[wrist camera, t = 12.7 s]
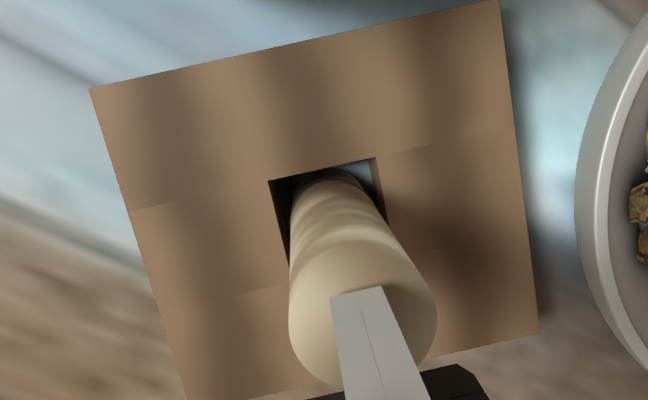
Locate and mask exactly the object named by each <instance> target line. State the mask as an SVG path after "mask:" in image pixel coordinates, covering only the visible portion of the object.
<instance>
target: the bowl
mask: <svg viewBox="0 0 648 400" xmlns="http://www.w3.org/2000/svg"><path fill="white" fill-rule="evenodd" d="M574 221H575V232H576V239H577V246H578V250H579V255H580V259H581V264H582V267H583V271H584V274H585V277H586V280H587V283H588V285H589V288H590V291H591V293H592V295H593V298H594V300H595V302H596V304H597V306H598V308H599V310H600V312H601V314H602V315H603V317H604V319H605V321H606V322H607V324H608V325H609V327H610V328H611V330H612V331H613V333H614V334H615V336H616V337H617V339H618V340H619V341H620V342H621V344H622V345H623V346H624V347H625V349H626V350H627V351H628V352H629V353H630V354H631V355H632V357H633V358H634V359H635V360H636V361H637V362H638V363H639V364H640V365H641V366H642V367H643V368H644V369H646V370H647V371H648V11H647V12H646V13H645V15H644V16H643V17H642V19H641V20H640V21H639V23H638V24H637V25H636V27H635V28H634V29H633V31H632V32H631V34H630V35H629V37H628V38H627V40H626V41H625V43H624V44H623V46H622V47H621V49H620V51H619V52H618V54H617V56H616V58H615V59H614V61H613V63H612V65H611V66H610V68H609V70H608V72H607V74H606V76H605V78H604V80H603V82H602V85H601V87H600V89H599V91H598V94H597V96H596V98H595V101H594V104H593V106H592V109H591V111H590V114H589V117H588V121H587V124H586V127H585V130H584V134H583V138H582V142H581V146H580V151H579V156H578V161H577V168H576V176H575V187H574Z"/></svg>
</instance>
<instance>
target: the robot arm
mask: <svg viewBox="0 0 648 400" xmlns="http://www.w3.org/2000/svg"><path fill="white" fill-rule="evenodd" d="M329 302H330V308H331V314H332V320H333V326H334V332H335V338H336V344H337V350H338V356H339V362H340V368H341V374H342V380H343V386H344V391H342V392H338V393H333V394H329V395H325V396H320V397H316V398H311V399H307V400H489V398H488V396H487V395H486V393H484V390H483V388H482V387H481V385H480V384H479V382H478V380H477V379H476V377H475V376H474V374H472V373H470V372H469V371H467V370H466V369H464V368H463V367H461V366H460V365H458V364H453V365H449V366H444V367H440V368H436V369H431V370H427V371H422V372H419V371H418V369H417V367H416V364H415V362H414V360H413V358H412V355H411V353H410V351H409V348H408V346H407V344H406V342H405V339H404V337H403V335H402V332H401V330H400V328H399V326H398V323H397V321H396V319H395V316H394V314H393V312H392V310H391V307H390V305H389V303H388V300H387V298H386V296H385V294H384V291H383V289H382V287H381V286H377V287H373V288H368V289H364V290H359V291H355V292H351V293H346V294H342V295H337V296H333V297H329Z"/></svg>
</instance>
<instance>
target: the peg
mask: <svg viewBox="0 0 648 400" xmlns="http://www.w3.org/2000/svg"><path fill="white" fill-rule="evenodd" d="M290 233H291V234H290V277H289V320H288V325H289V336H290V341H291V344H292V347H293V350H294V352H295V354H296V356H297V358H298V359H299V361H300V362H301V364H302V365H303V366H304V367H305V368H306V369H307V370H308V371H309V372H310V373H311V374H312V375H313V376H315V377H316V378H318V379H319V380H321V381H322V382H324V383H327V384H329V385H331V386H334V387H337V388H340V389H344V386H343V380H342V374H341V368H340V362H339V356H338V350H337V344H336V338H335V332H334V326H333V320H332V314H331V308H330V302H329V297H333V296H337V295H342V294H346V293H351V292H355V291H359V290H364V289H368V288H373V287H377V286H381V287H382V289H383V291H384V294H385V296H386V298H387V300H388V303H389V305H390V307H391V310H392V312H393V314H394V316H395V319H396V321H397V323H398V326H399V328H400V330H401V332H402V335H403V337H404V339H405V342H406V344H407V346H408V348H409V351H410V353H411V355H412V358H413V360H414V362H415V364H416V367H417V366H418V365H419V364H420V363H421V362H422V360H423V359H424V358H425V356H426V355H427V353H428V351H429V349H430V347H431V345H432V343H433V340H434V337H435V333H436V328H437V310H436V305H435V301H434V298H433V295H432V293H431V290H430V289H429V287H428V285H427V284H426V282H425V281H424V279H423V278H422V276H421V275H420V273H419V272H418V270H417V269H416V267H415V266H414V264H413V263H412V261H411V260H410V258H409V257H408V255H407V254H406V252H405V251H404V249H403V248H402V246H401V245H400V243H399V242H398V240H397V239H396V237H395V236H394V234H393V233H392V231H391V230H390V228H389V227H388V225H387V224H386V222H385V221H384V219H383V218H382V216H381V215H380V213H379V212H378V210H377V209H376V207H375V204H374V203H373V201H372V199H371V198H370V196H369V195H368V194H367V193H366V192H365V191H364V189H363V188H362V186H361V185H360V183H359V182H358V181H357V180H356V179H355V178H354V177H353V176H352V175H351V174H349V173H347V172H345V171H343V170H340V169H336V168H323V169H319V170H315V171H313V172H311V173H309V174H308V175H306V176H305V177H304V178H303V179H302V180H301V181H300V182H299V183H298V185H297V186H296V188H295V190H294V193H293V196H292V201H291V215H290Z"/></svg>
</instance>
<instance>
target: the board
mask: <svg viewBox="0 0 648 400" xmlns="http://www.w3.org/2000/svg"><path fill="white" fill-rule="evenodd" d="M88 90H89V93H90V96H91V99H92V102H93V105H94V109H95V112H96V115H97V118H98V121H99V124H100V127H101V130H102V134H103V137H104V140H105V143H106V146H107V149H108V152H109V156H110V159H111V162H112V165H113V168H114V171H115V174H116V177H117V181H118V184H119V187H120V190H121V193H122V196H123V199H124V202H125V206H126V209H127V212H128V215H129V218H130V221H131V224H132V228H133V231H134V234H135V237H136V240H137V243H138V246H139V249H140V253H141V256H142V259H143V262H144V265H145V268H146V271H147V274H148V278H149V281H150V284H151V287H152V290H153V293H154V296H155V300H156V303H157V306H158V309H159V312H160V315H161V318H162V321H163V325H164V328H165V331H166V334H167V337H168V340H169V343H170V346H171V350H172V353H173V356H174V359H175V362H176V365H177V368H178V372H179V375H180V378H181V381H182V384H183V387H184V390H185V393H186V397H187V400H247V399H251V398H256V397H260V396H264V395H269V394H273V393H278V392H282V391H286V390H291V389H295V388H300V387H304V386H309V385H313V384H317V383H322V381H321V380H319V379H318V378H316V377H315V376H313V375H312V374H311V373H310V372H309V371H308V370H307V369H306V368H305V367H304V366H303V365H302V364H301V362H300V361H299V359H298V358H297V356H296V354H295V352H294V350H293V347H292V344H291V341H290V336H289V325H288V320H289V277H290V247H289V243H288V238H287V234H286V230H285V226H284V222H283V218H282V214H281V210H280V206H279V202H278V198H277V193H276V189H275V185H274V181H273V180H274V179H278V178H283V177H287V176H292V175H296V174H300V173H305V172H309V171H314V170H318V169H323V168H327V167H332V166H336V165H341V164H345V163H350V162H354V161H359V160H363V159H368V160H369V165H370V171H371V176H372V181H373V186H374V191H375V196H376V201H377V206H378V211H379V213H380V215H381V216H382V218H383V219H384V221H385V222H386V224H387V225H388V227H389V228H390V230H391V231H392V233H393V234H394V236H395V237H396V239H397V240H398V242H399V243H400V245H401V246H402V248H403V249H404V251H405V252H406V254H407V255H408V257H409V258H410V260H411V261H412V263H413V264H414V266H415V267H416V269H417V270H418V272H419V273H420V275H421V276H422V278H423V279H424V281H425V282H426V284H427V285H428V287H429V289H430V290H431V293H432V295H433V298H434V301H435V305H436V310H437V328H436V333H435V337H434V340H433V343H432V345H431V347H430V349H429V351H428V353H427V355H426V356H425V358H424V359H428V358H432V357H436V356H441V355H445V354H450V353H454V352H458V351H463V350H467V349H472V348H476V347H480V346H485V345H489V344H494V343H498V342H502V341H507V340H511V339H516V338H520V337H524V336H529V335H533V334H538V333H540V325H539V317H538V309H537V301H536V293H535V285H534V277H533V269H532V261H531V253H530V245H529V237H528V229H527V221H526V213H525V205H524V197H523V189H522V181H521V173H520V165H519V157H518V149H517V141H516V133H515V125H514V117H513V109H512V101H511V93H510V85H509V77H508V69H507V61H506V53H505V45H504V37H503V29H502V21H501V13H500V5H499V0H486V1H482V2H477V3H473V4H468V5H464V6H459V7H455V8H450V9H446V10H441V11H437V12H432V13H428V14H423V15H419V16H414V17H410V18H405V19H401V20H396V21H392V22H387V23H383V24H378V25H373V26H369V27H364V28H360V29H355V30H351V31H346V32H342V33H337V34H333V35H328V36H324V37H319V38H315V39H310V40H306V41H301V42H297V43H292V44H288V45H283V46H279V47H274V48H270V49H265V50H261V51H256V52H252V53H247V54H242V55H238V56H233V57H229V58H224V59H220V60H215V61H211V62H206V63H202V64H197V65H193V66H188V67H184V68H179V69H175V70H170V71H166V72H161V73H157V74H152V75H148V76H143V77H139V78H134V79H130V80H125V81H121V82H116V83H112V84H107V85H102V86H98V87H93V88H89V89H88Z"/></svg>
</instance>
